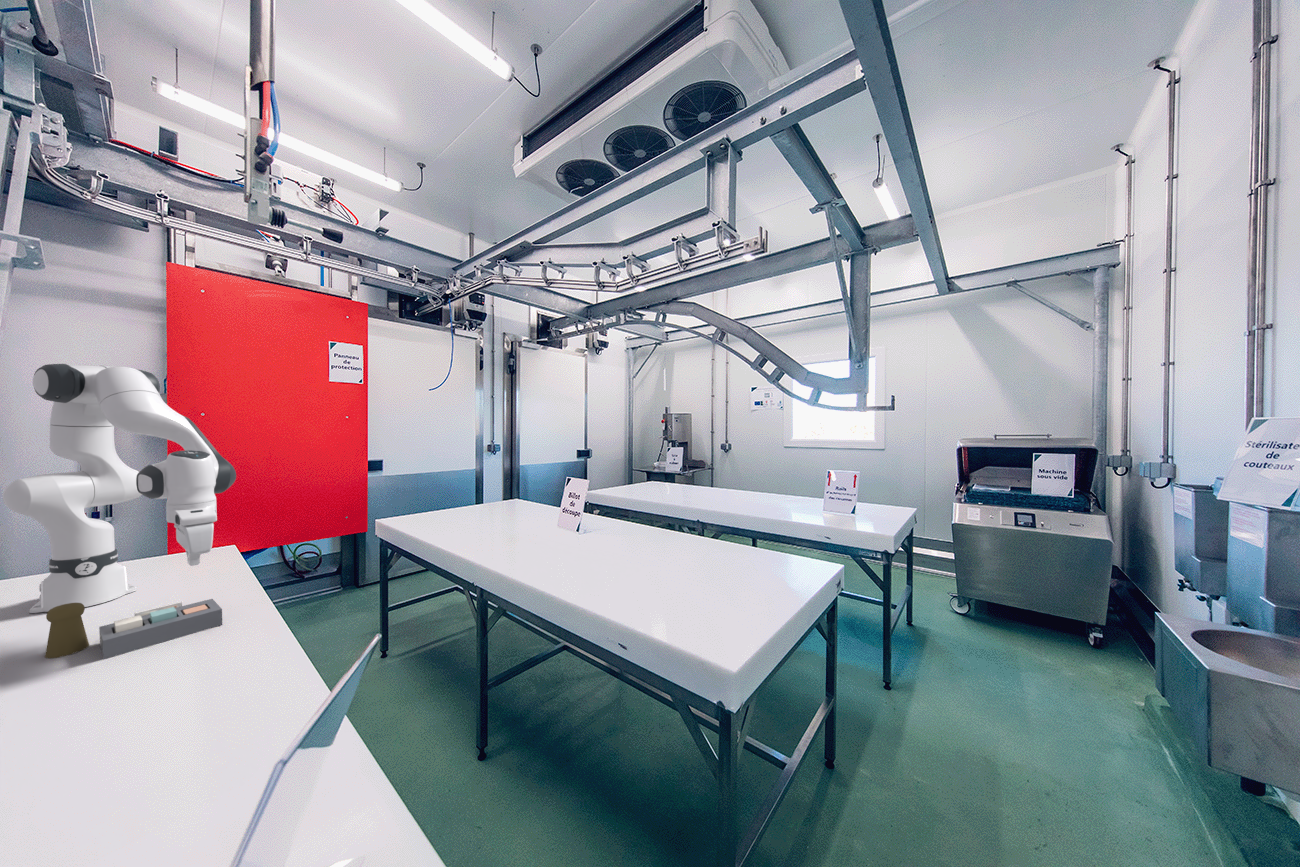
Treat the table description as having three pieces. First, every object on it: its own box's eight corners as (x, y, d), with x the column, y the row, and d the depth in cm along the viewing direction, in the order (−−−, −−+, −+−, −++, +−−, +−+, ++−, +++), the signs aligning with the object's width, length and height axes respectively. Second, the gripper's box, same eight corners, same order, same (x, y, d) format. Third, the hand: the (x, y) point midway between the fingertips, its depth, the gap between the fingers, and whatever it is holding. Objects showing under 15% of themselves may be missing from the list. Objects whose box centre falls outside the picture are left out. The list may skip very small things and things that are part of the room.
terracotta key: (183, 621, 108) (182, 610, 108) (205, 615, 111) (204, 604, 111) (185, 625, 106) (185, 614, 106) (208, 619, 109) (208, 608, 109)
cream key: (114, 633, 99) (113, 621, 99) (140, 626, 102) (140, 614, 102) (116, 638, 97) (115, 626, 97) (142, 631, 100) (142, 619, 100)
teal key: (150, 624, 103) (149, 612, 103) (174, 617, 107) (173, 606, 107) (152, 628, 101) (152, 617, 101) (177, 622, 105) (176, 610, 104)
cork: (55, 659, 93) (53, 612, 92) (37, 656, 94) (35, 609, 94) (96, 645, 99) (94, 600, 98) (78, 642, 100) (76, 598, 100)
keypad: (99, 641, 100) (98, 621, 100) (211, 611, 116) (210, 594, 116) (103, 659, 93) (102, 637, 93) (222, 624, 109) (221, 606, 109)
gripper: (167, 509, 111) (168, 559, 111) (181, 520, 99) (182, 576, 100) (201, 505, 116) (202, 553, 117) (218, 515, 105) (219, 569, 105)
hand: (193, 564), depth 108 cm, fingers closed
